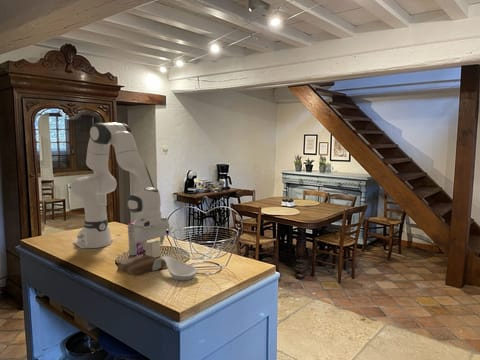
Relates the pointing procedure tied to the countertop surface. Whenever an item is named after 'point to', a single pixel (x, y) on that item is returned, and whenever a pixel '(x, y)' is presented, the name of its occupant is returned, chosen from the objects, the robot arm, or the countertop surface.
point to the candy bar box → (134, 246)
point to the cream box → (153, 248)
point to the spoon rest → (176, 268)
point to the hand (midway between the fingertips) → (153, 247)
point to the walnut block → (137, 264)
